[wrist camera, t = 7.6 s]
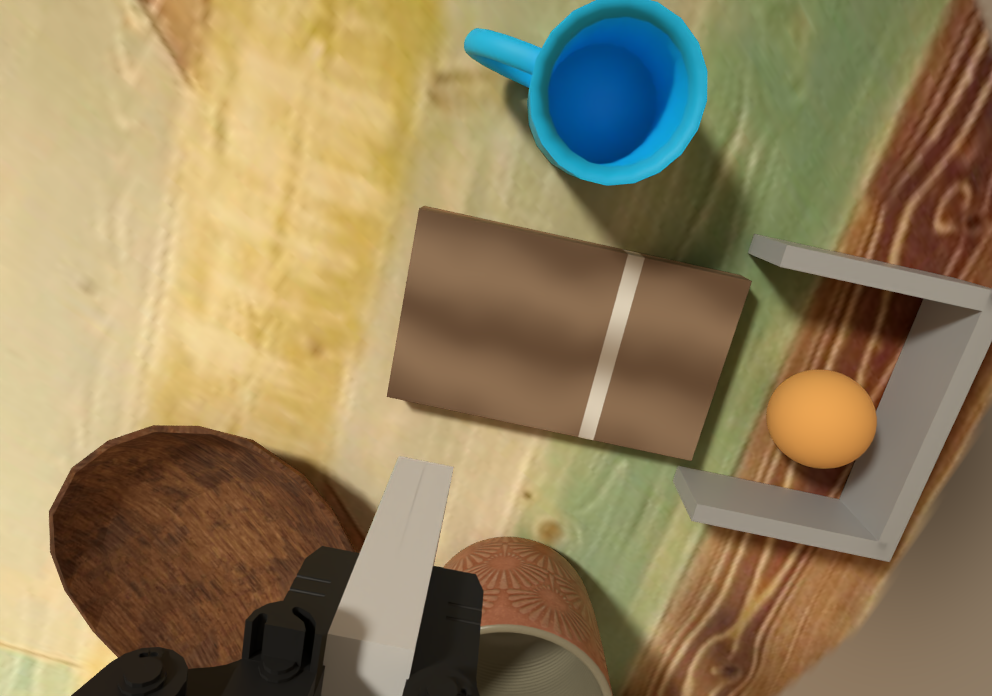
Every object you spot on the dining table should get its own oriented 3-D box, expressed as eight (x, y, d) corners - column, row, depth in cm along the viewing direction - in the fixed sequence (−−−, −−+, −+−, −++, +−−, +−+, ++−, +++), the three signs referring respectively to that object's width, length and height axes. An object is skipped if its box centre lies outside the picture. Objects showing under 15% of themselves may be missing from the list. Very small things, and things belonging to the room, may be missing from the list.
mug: (693, 64, 36) (740, 40, 28) (630, 200, 39) (658, 212, 31) (497, -24, 35) (491, -74, 28) (445, 121, 38) (426, 112, 30)
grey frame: (754, 233, 39) (787, 244, 34) (952, 277, 39) (1013, 294, 34) (672, 480, 44) (691, 520, 39) (849, 517, 44) (889, 561, 39)
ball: (770, 362, 38) (877, 409, 34) (807, 346, 42) (906, 387, 38) (736, 448, 40) (833, 501, 36) (775, 425, 44) (865, 470, 40)
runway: (424, 205, 39) (419, 208, 37) (740, 275, 40) (751, 281, 38) (392, 385, 43) (386, 396, 41) (683, 447, 43) (691, 460, 41)
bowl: (269, 348, 42) (237, 373, 37) (431, 600, 47) (421, 650, 43) (41, 468, 45) (-16, 505, 41) (216, 692, 51) (185, 748, 46)
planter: (545, 489, 44) (553, 592, 34) (622, 622, 47) (651, 754, 37) (394, 559, 46) (357, 676, 36) (476, 682, 49) (464, 823, 39)
